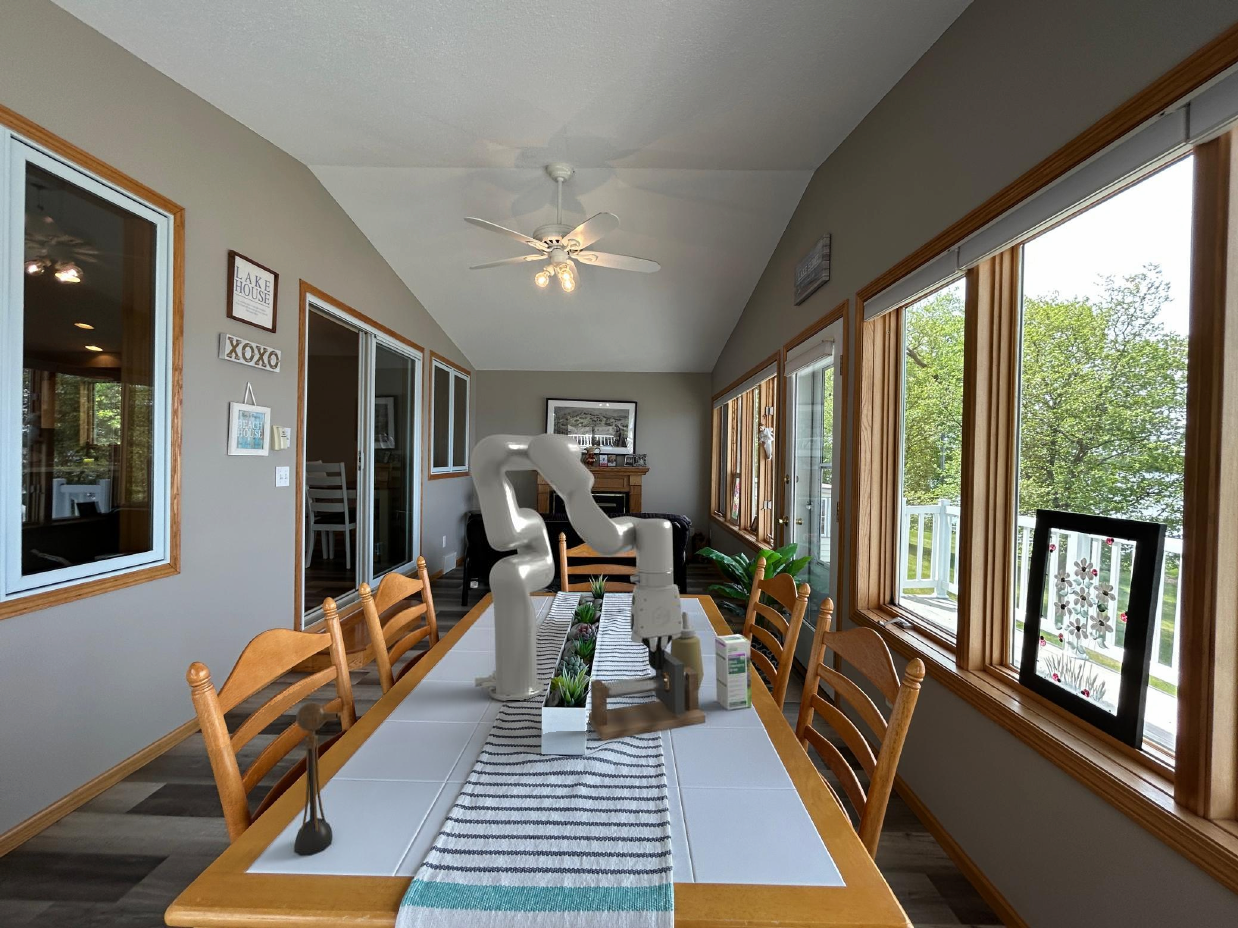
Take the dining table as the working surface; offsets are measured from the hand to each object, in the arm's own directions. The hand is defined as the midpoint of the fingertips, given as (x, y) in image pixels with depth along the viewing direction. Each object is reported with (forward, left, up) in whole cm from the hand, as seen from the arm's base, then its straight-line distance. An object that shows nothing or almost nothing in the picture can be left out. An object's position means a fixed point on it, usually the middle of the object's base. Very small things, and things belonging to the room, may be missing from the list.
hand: (656, 667), depth 123 cm
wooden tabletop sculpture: (-61, -20, -11) cm, 65 cm away
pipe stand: (-3, 0, -11) cm, 11 cm away
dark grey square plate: (+3, 0, -8) cm, 9 cm away
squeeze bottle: (+12, +12, -11) cm, 20 cm away
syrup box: (+18, +1, -11) cm, 21 cm away
